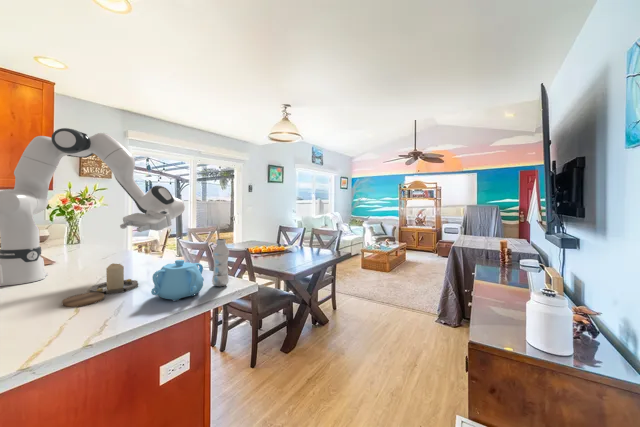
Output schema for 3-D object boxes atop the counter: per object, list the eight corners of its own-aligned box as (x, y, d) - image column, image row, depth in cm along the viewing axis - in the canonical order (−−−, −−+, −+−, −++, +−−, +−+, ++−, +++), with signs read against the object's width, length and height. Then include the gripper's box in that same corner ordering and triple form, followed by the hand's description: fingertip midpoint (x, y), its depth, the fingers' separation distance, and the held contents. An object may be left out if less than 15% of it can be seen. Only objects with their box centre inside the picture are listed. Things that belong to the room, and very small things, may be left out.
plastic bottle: (211, 284, 115) (212, 238, 115) (228, 282, 118) (228, 238, 117) (212, 289, 109) (212, 240, 109) (229, 287, 112) (230, 240, 112)
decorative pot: (166, 289, 108) (166, 256, 108) (207, 288, 110) (207, 255, 110) (145, 304, 92) (145, 265, 92) (194, 302, 94) (194, 264, 94)
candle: (127, 286, 110) (127, 262, 110) (115, 290, 105) (115, 265, 104) (114, 285, 111) (114, 262, 110) (102, 290, 105) (102, 265, 105)
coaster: (53, 305, 89) (53, 302, 89) (86, 294, 100) (86, 291, 100) (81, 308, 87) (81, 304, 87) (112, 296, 98) (112, 293, 98)
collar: (80, 292, 101) (80, 288, 101) (115, 281, 116) (115, 277, 116) (114, 295, 99) (114, 291, 99) (146, 284, 114) (146, 279, 114)
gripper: (137, 207, 130) (109, 218, 117) (171, 213, 125) (146, 225, 112) (140, 219, 132) (113, 231, 120) (174, 225, 127) (149, 238, 115)
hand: (129, 228), depth 116 cm, fingers open, 8 cm apart
